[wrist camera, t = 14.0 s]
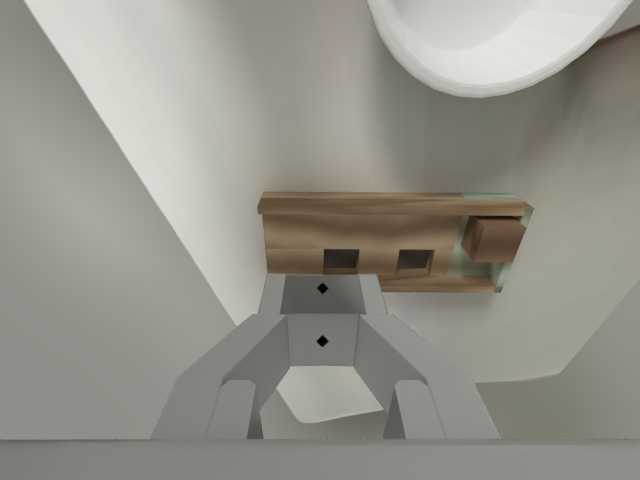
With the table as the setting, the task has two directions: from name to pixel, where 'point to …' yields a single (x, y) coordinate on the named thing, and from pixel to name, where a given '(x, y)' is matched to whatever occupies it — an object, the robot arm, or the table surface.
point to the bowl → (490, 39)
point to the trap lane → (385, 237)
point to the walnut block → (492, 238)
